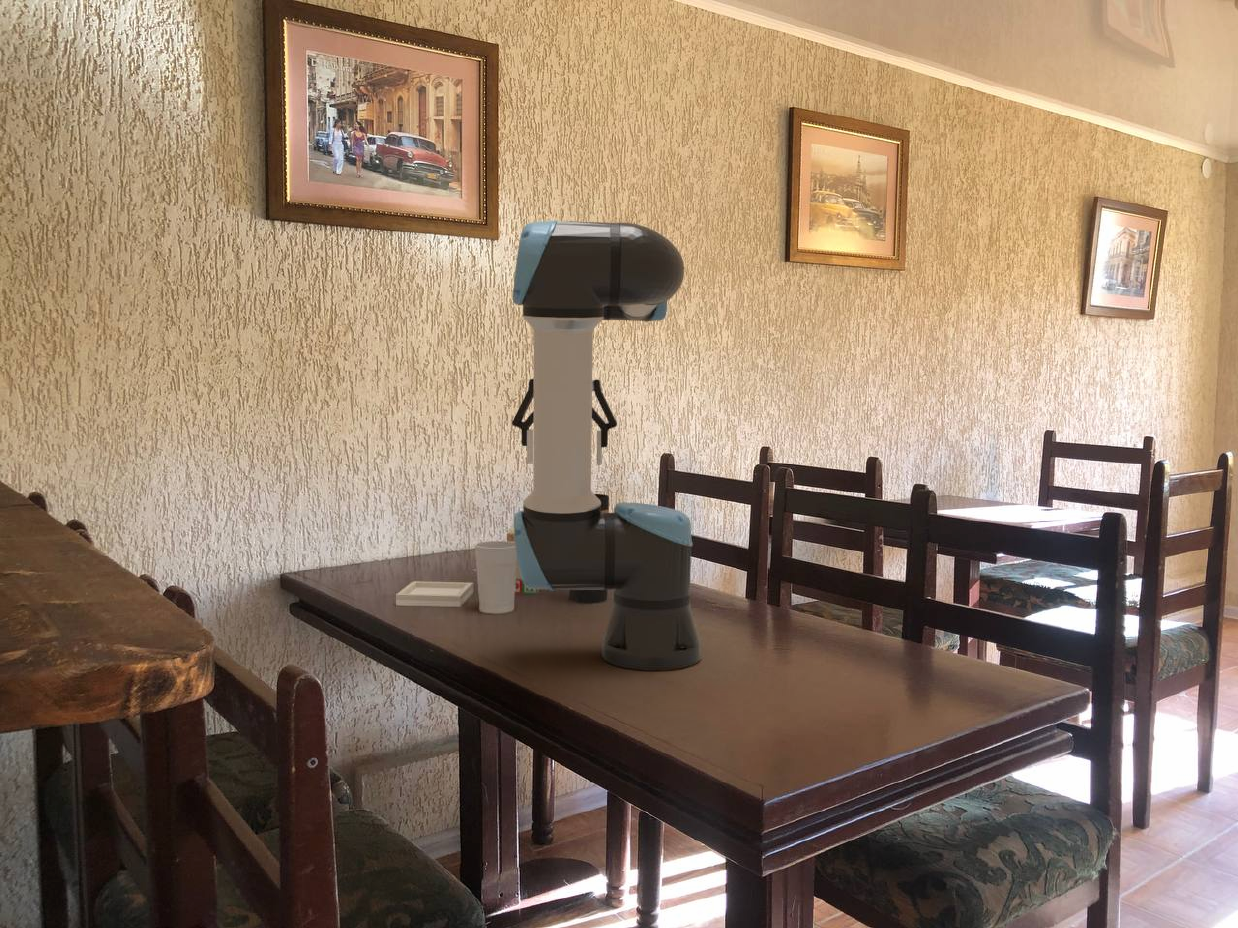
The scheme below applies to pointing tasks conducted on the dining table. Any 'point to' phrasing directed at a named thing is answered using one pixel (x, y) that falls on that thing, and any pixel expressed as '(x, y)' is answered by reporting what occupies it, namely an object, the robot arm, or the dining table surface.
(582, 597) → the travel mug
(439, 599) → the cream square tray
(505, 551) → the cup
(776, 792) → the dining table surface
